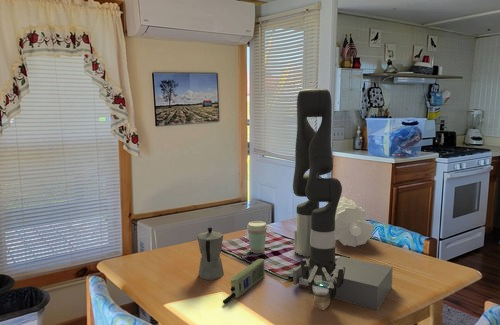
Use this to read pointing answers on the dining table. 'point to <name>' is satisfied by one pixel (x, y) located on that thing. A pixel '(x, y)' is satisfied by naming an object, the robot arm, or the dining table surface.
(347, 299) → the block
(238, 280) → the handheld radio
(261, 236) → the coffee cup
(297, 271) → the tray
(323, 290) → the disc
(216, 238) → the coffeepot
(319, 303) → the pedestal
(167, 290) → the dining table surface
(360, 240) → the spiral staircase
